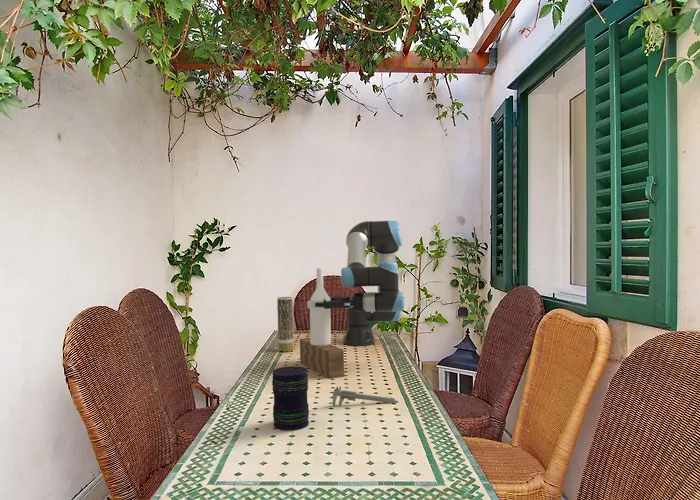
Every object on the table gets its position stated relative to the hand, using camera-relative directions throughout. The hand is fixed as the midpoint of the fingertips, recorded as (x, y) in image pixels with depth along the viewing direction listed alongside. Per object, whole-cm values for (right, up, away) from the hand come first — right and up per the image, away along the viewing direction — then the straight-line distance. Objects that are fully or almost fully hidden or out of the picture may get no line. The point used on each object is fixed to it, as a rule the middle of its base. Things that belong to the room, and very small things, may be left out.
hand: (311, 302), depth 207 cm
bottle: (+4, -17, 0) cm, 17 cm away
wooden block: (+4, -26, 0) cm, 27 cm away
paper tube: (-15, -27, +37) cm, 48 cm away
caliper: (+20, -27, -46) cm, 57 cm away
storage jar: (-1, -28, -63) cm, 69 cm away
